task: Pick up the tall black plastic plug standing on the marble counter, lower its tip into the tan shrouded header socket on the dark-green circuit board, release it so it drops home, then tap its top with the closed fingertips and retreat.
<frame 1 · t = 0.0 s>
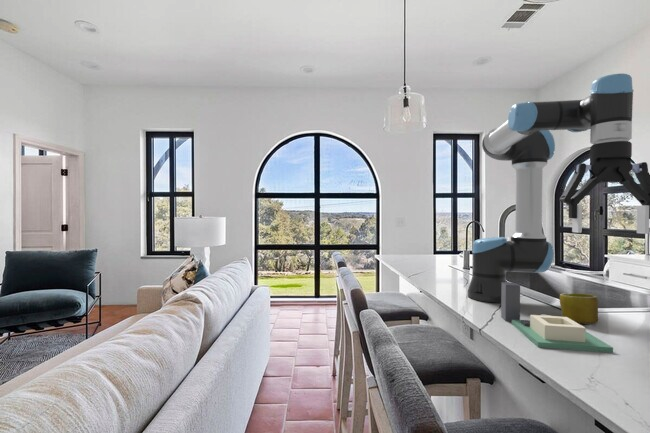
hand: (609, 233, 80), 28 cm above the table, fingers open, 13 cm apart
plug: (510, 319, 104), on the table
board: (556, 336, 90), on the table
mug: (575, 320, 105), on the table
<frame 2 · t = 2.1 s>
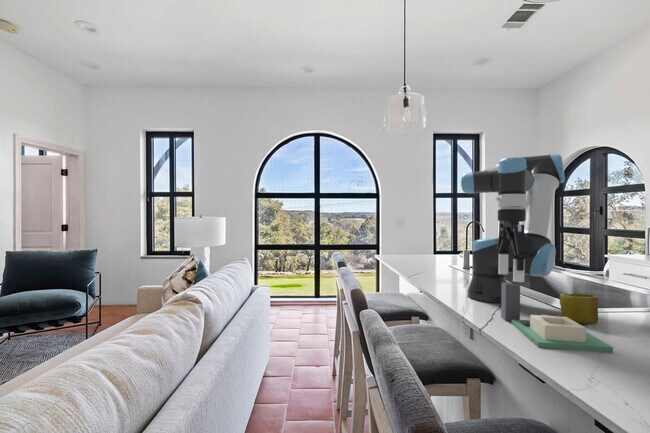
hand: (510, 277, 104), 13 cm above the table, fingers open, 13 cm apart
nothing on the table moved.
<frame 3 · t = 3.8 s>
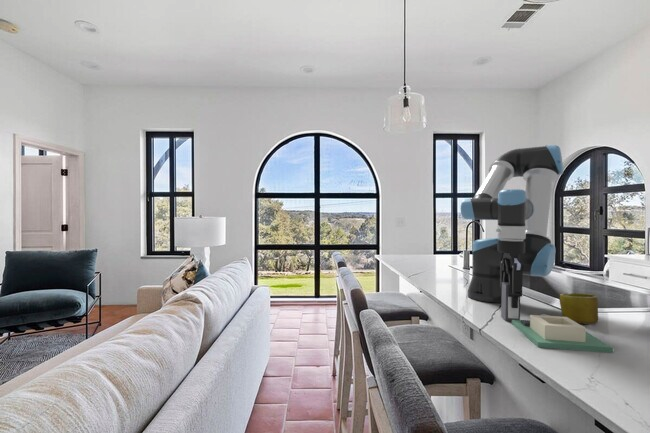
hand: (510, 315, 104), 1 cm above the table, fingers closed on plug, 4 cm apart
plug: (510, 319, 104), on the table, touching gripper
everything else where it was.
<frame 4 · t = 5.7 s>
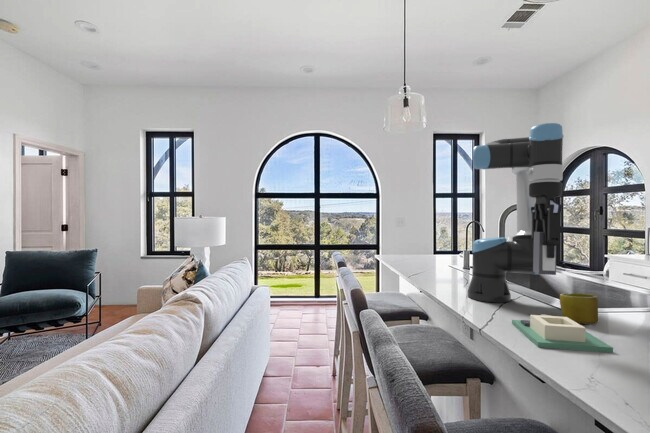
hand: (544, 269, 91), 18 cm above the table, fingers closed on plug, 4 cm apart
plug: (544, 273, 91), point 17 cm above the table, touching gripper
everything else where it was.
when the fingers open (5 cm above the table, at t = 7.9 s): plug drops 3 cm, resting on board.
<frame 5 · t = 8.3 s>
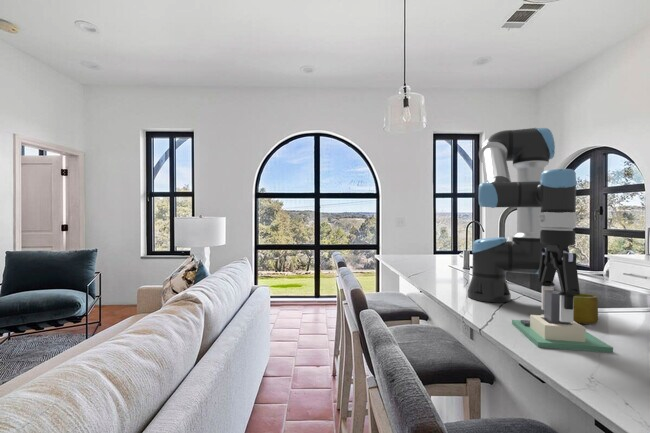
hand: (556, 315, 88), 6 cm above the table, fingers open, 9 cm apart
plug: (555, 334, 88), point 1 cm above the table, touching board
everything else where it was.
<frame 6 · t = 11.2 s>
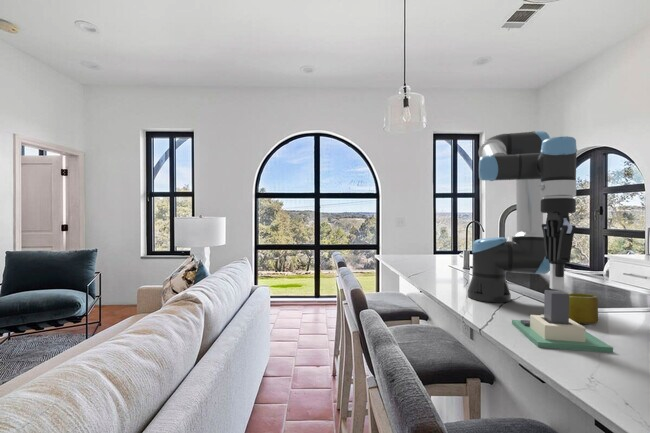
hand: (556, 288, 88), 13 cm above the table, fingers closed
nothing on the table moved.
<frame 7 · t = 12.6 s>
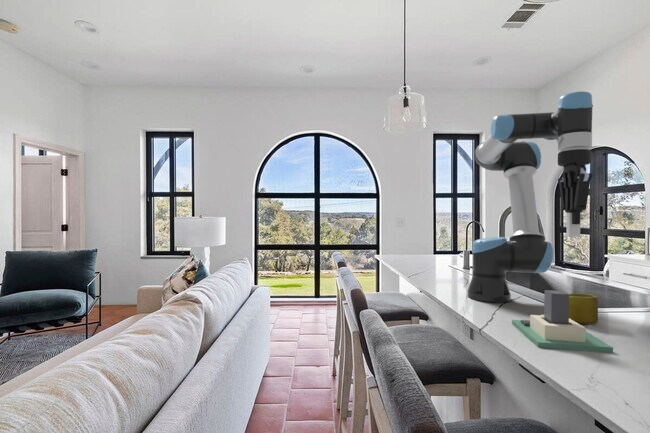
hand: (573, 236, 93), 26 cm above the table, fingers closed
nothing on the table moved.
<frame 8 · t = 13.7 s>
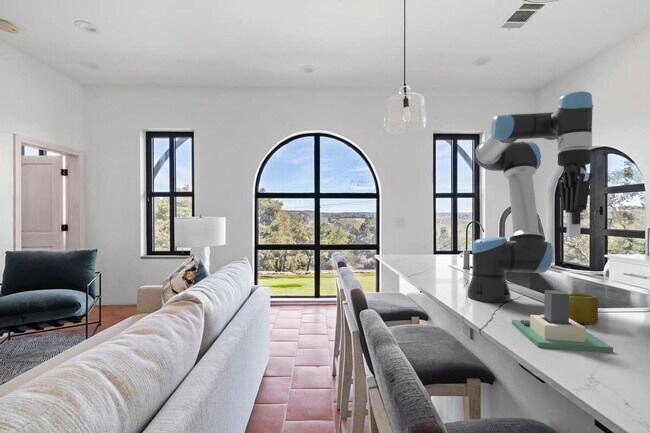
hand: (573, 236, 93), 26 cm above the table, fingers closed
nothing on the table moved.
at the end: plug 0.1 cm from the target spot on the board, point 1.2 cm above the board's base; plug tilted 0°; the gripper is holding nothing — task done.
